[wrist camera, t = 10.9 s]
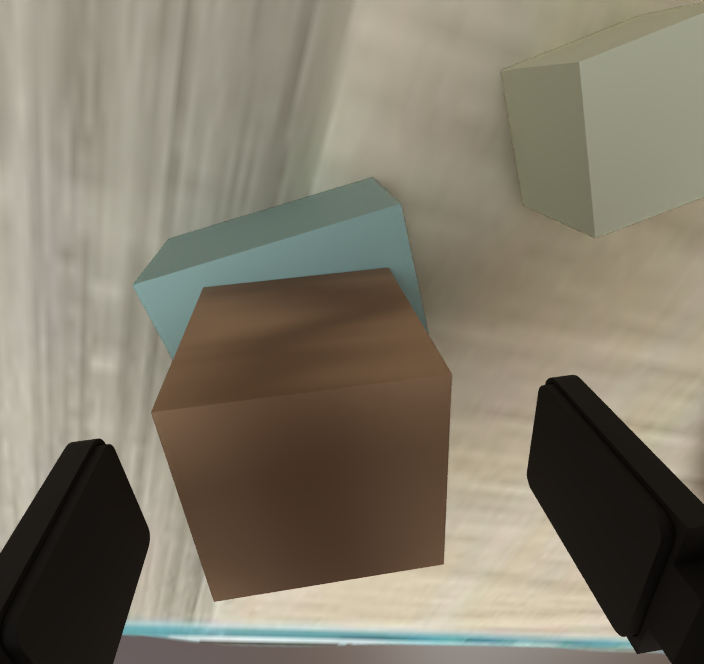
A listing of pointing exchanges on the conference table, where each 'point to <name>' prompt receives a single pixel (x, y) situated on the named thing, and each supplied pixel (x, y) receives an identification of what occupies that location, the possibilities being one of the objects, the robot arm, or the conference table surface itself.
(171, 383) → the walnut cube
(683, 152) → the sage cube
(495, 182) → the conference table surface
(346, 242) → the teal block
